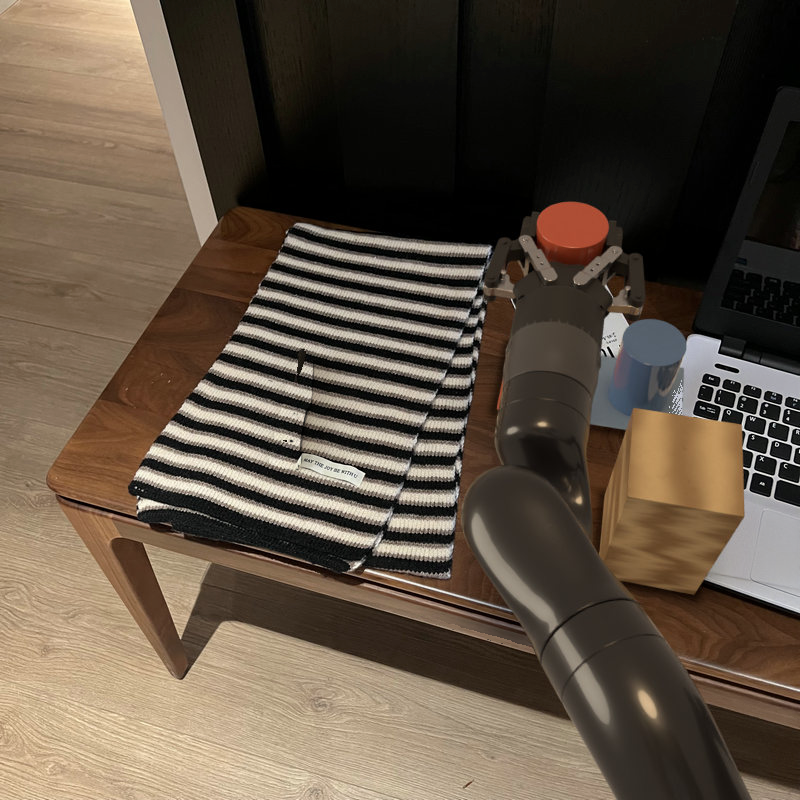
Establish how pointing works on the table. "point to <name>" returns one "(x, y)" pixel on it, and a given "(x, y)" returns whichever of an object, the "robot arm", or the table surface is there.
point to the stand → (672, 499)
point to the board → (602, 405)
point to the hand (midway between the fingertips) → (573, 223)
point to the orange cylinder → (571, 233)
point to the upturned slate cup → (646, 366)
